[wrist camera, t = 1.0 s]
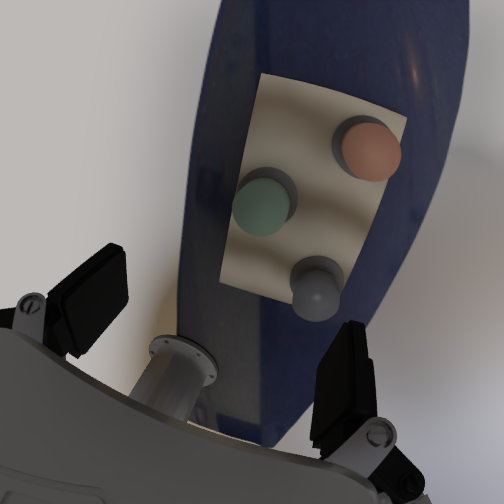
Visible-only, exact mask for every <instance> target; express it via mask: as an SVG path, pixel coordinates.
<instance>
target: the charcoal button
mask: <svg viewBox="0 0 504 504" xmlns="http://www.w3.org/2000/svg"><path fill="white" fill-rule="evenodd" d="M339 304H340V300H339V286H338V283H337V281H336V279H335V278H334V277H333V276H332V275H330V274H329V273H327V272H324V271H319V270H315V271H309V272H306V273H304V274H303V275H301V276H300V277H299V278H298V279H297V281H296V283H295V286H294V292H293V298H292V306H293V309H294V311H295V312H296V314H297V315H298V316H300V317H301V318H303V319H305V320H308V321H323V320H326V319H329V318H330V317H332V316H333V315H334V314H335V313H336V312H337V310H338V308H339Z"/></svg>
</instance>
